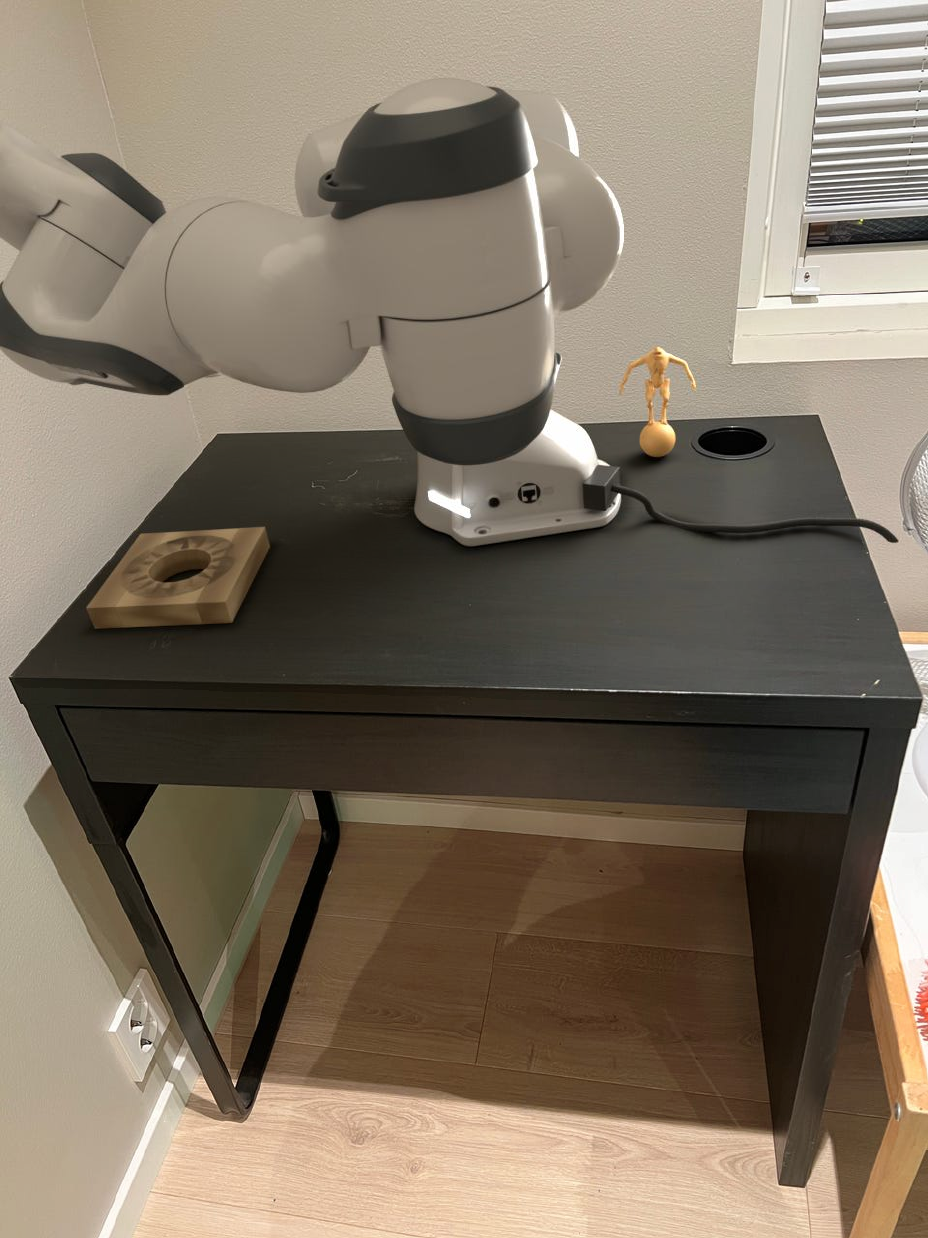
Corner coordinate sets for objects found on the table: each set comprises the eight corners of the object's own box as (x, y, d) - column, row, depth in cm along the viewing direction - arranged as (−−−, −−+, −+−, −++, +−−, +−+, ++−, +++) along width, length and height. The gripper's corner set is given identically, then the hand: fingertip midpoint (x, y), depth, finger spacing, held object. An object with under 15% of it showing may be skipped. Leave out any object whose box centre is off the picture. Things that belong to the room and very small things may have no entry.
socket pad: (270, 546, 99) (265, 526, 98) (232, 623, 88) (225, 601, 86) (147, 553, 101) (140, 533, 100) (94, 629, 90) (85, 608, 88)
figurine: (620, 464, 105) (618, 361, 98) (621, 441, 110) (619, 342, 103) (695, 461, 104) (698, 357, 97) (693, 438, 108) (696, 337, 101)
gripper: (33, 285, 94) (133, 346, 106) (182, 291, 85) (272, 357, 97) (51, 227, 94) (149, 295, 107) (201, 227, 85) (288, 301, 98)
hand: (209, 325), depth 102 cm, fingers closed on chess pawn, 3 cm apart
